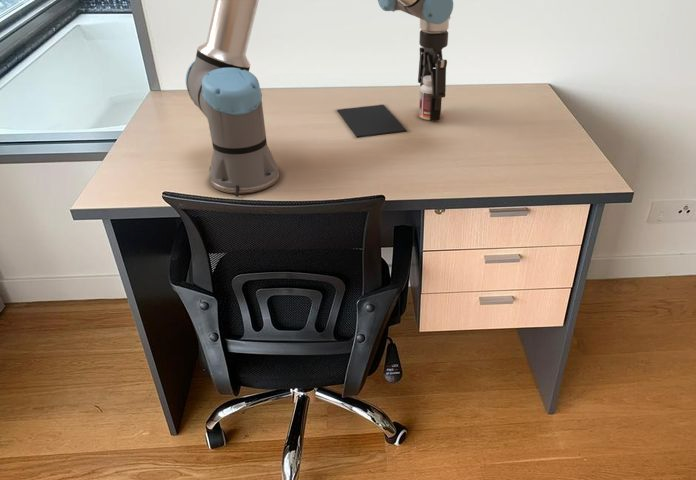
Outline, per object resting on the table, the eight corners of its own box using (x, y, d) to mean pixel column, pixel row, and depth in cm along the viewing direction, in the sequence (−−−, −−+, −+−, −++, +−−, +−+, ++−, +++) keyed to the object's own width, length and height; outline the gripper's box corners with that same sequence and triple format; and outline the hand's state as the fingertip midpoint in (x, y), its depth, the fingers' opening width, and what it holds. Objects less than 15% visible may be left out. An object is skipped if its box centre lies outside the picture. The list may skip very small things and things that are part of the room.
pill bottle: (445, 117, 167) (447, 78, 161) (430, 122, 164) (432, 83, 157) (429, 111, 171) (431, 72, 164) (414, 116, 167) (415, 77, 161)
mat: (406, 131, 158) (406, 129, 158) (356, 137, 154) (356, 136, 154) (383, 105, 173) (383, 104, 173) (337, 110, 170) (337, 109, 169)
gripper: (462, 38, 147) (456, 126, 161) (433, 20, 162) (429, 101, 175) (435, 41, 145) (430, 129, 158) (407, 22, 160) (405, 104, 173)
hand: (429, 114), depth 167 cm, fingers open, 7 cm apart
